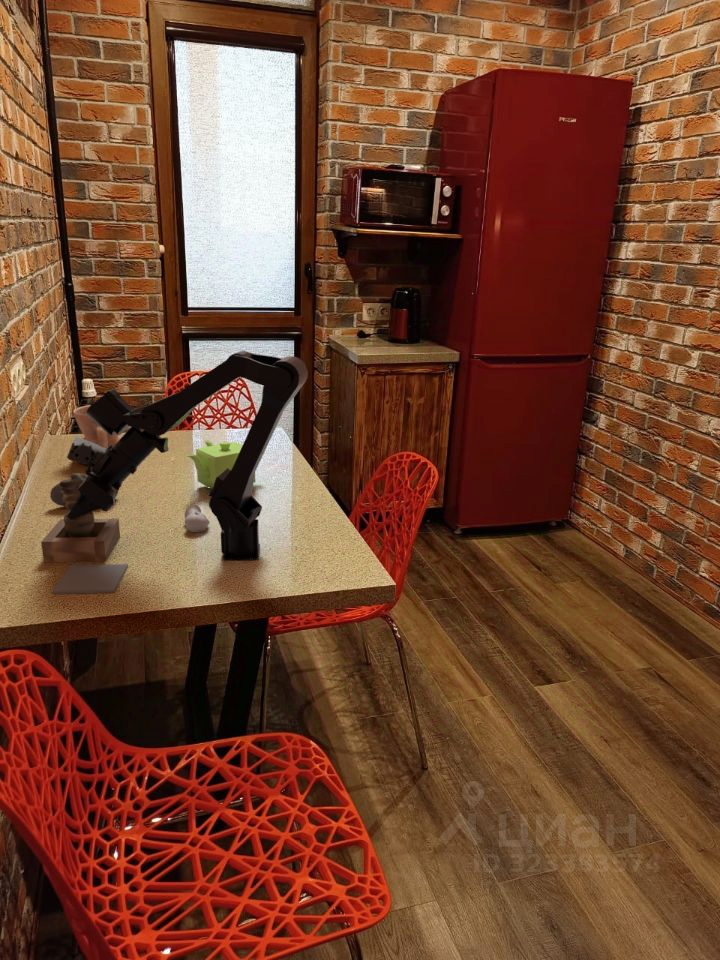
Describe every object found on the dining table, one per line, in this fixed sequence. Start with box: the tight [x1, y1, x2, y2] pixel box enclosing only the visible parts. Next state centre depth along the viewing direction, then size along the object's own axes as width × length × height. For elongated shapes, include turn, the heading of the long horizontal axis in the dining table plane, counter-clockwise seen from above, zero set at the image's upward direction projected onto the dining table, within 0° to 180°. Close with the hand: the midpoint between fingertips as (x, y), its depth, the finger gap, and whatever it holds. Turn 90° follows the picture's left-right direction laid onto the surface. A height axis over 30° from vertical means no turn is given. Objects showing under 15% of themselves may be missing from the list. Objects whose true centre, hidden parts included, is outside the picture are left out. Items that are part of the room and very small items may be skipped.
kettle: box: [185, 439, 256, 490], centre depth 166 cm, size 15×14×11 cm
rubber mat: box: [51, 563, 129, 595], centre depth 120 cm, size 10×10×1 cm
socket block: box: [40, 518, 121, 563], centre depth 131 cm, size 11×11×4 cm
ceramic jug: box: [73, 404, 122, 449], centre depth 183 cm, size 18×14×14 cm
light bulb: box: [59, 472, 95, 538], centre depth 129 cm, size 6×6×15 cm
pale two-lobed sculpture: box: [184, 503, 210, 533], centre depth 143 cm, size 4×8×5 cm
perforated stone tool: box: [49, 477, 120, 507], centre depth 154 cm, size 15×5×7 cm, turn 116°
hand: (71, 512), depth 129 cm, fingers closed on light bulb, 5 cm apart
